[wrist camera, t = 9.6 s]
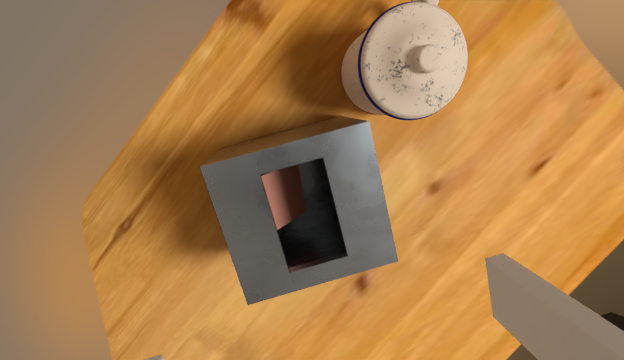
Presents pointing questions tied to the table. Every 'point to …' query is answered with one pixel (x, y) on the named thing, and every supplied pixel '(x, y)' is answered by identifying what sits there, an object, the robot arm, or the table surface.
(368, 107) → the teacup with lid
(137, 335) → the table surface
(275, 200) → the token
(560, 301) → the robot arm
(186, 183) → the table surface
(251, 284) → the grey hollow block
